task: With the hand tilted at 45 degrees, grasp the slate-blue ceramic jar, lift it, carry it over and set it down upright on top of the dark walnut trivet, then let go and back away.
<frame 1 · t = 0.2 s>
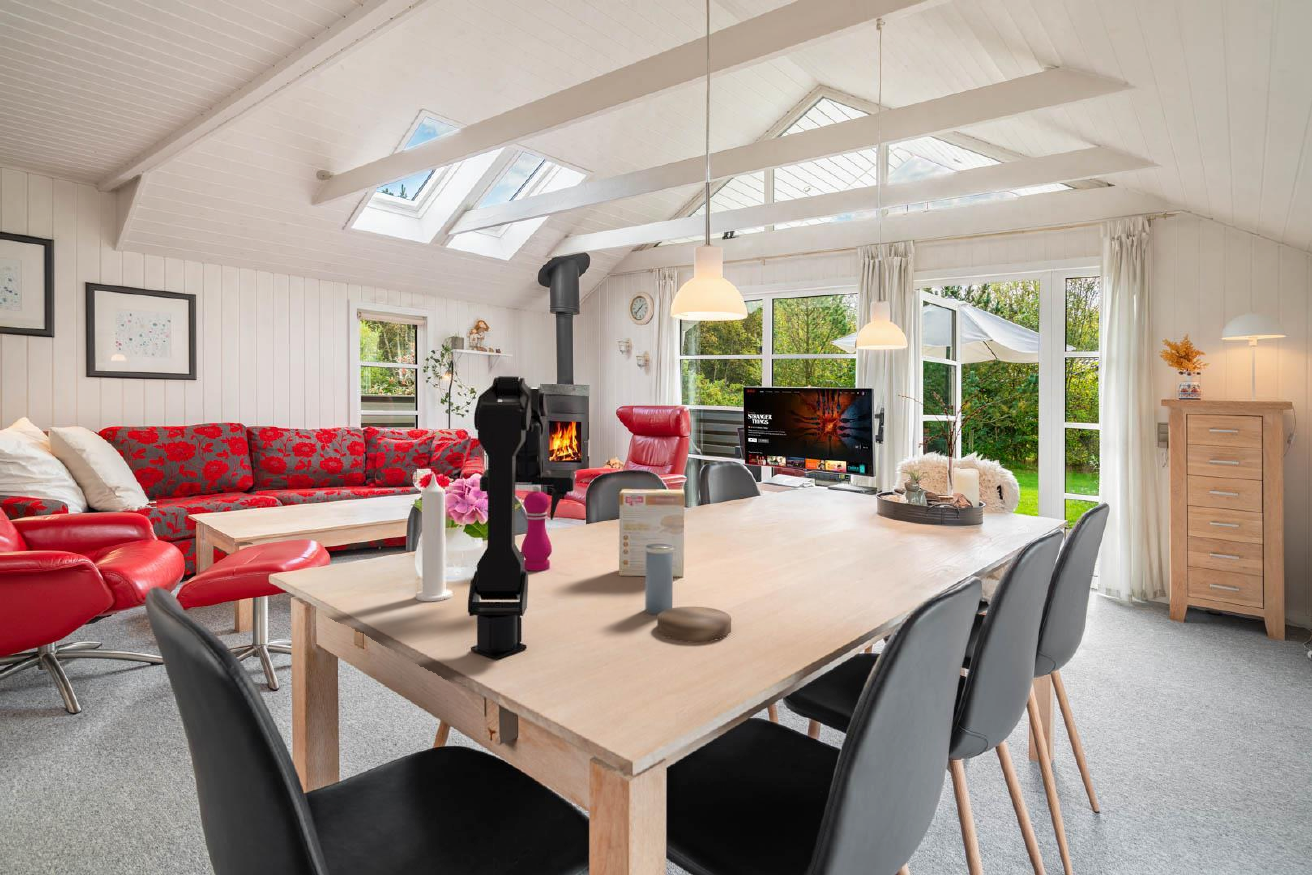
hand: (529, 518, 146), 15 cm above the table, tool pointing down, fingers open, 9 cm apart
coffeecake box: (651, 574, 165), on the table
pepper mill: (536, 569, 168), on the table
candle: (434, 597, 143), on the table
jar: (658, 610, 135), on the table
trivet: (694, 631, 124), on the table
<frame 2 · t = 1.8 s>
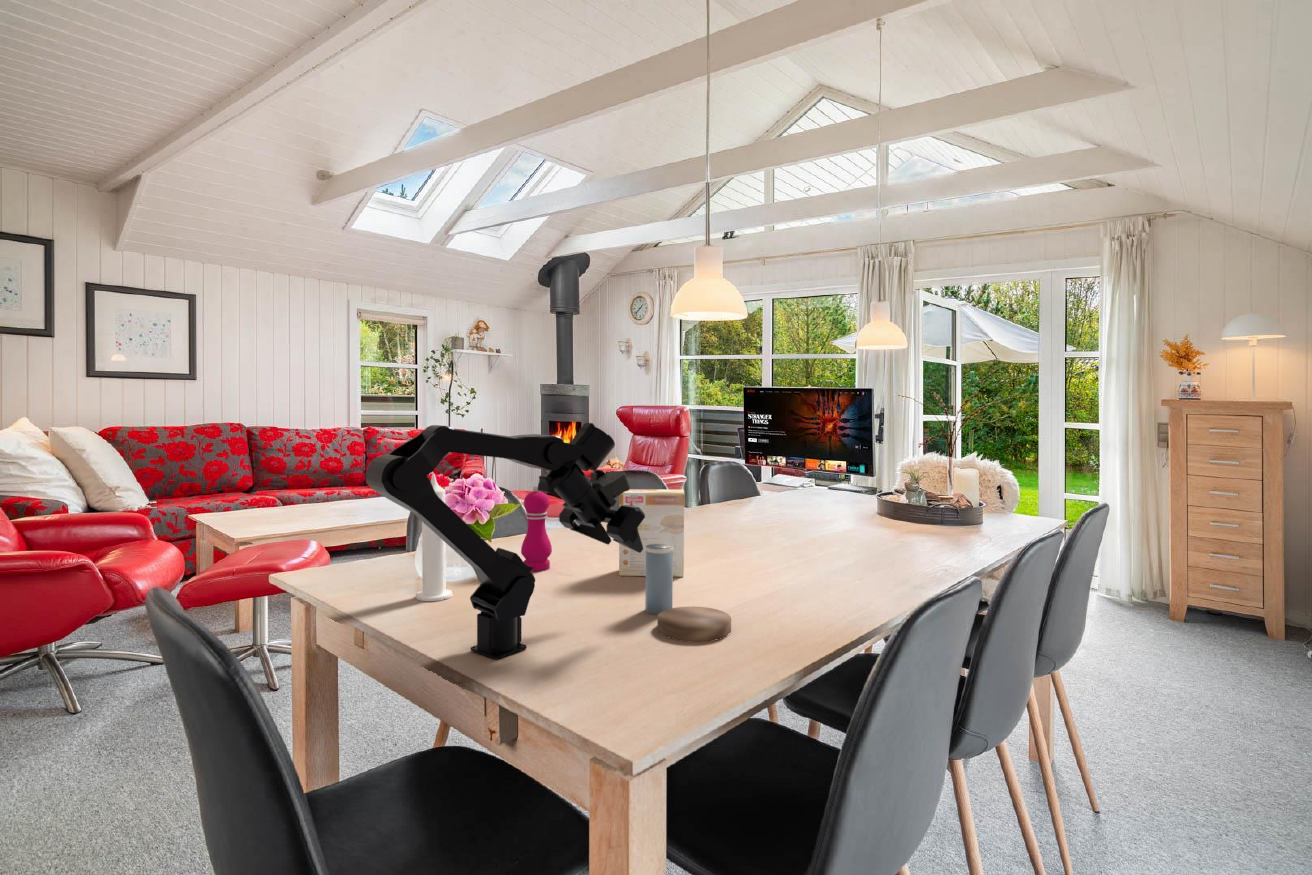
hand: (625, 546, 129), 13 cm above the table, tool tilted 45°, fingers open, 9 cm apart
nothing on the table moved.
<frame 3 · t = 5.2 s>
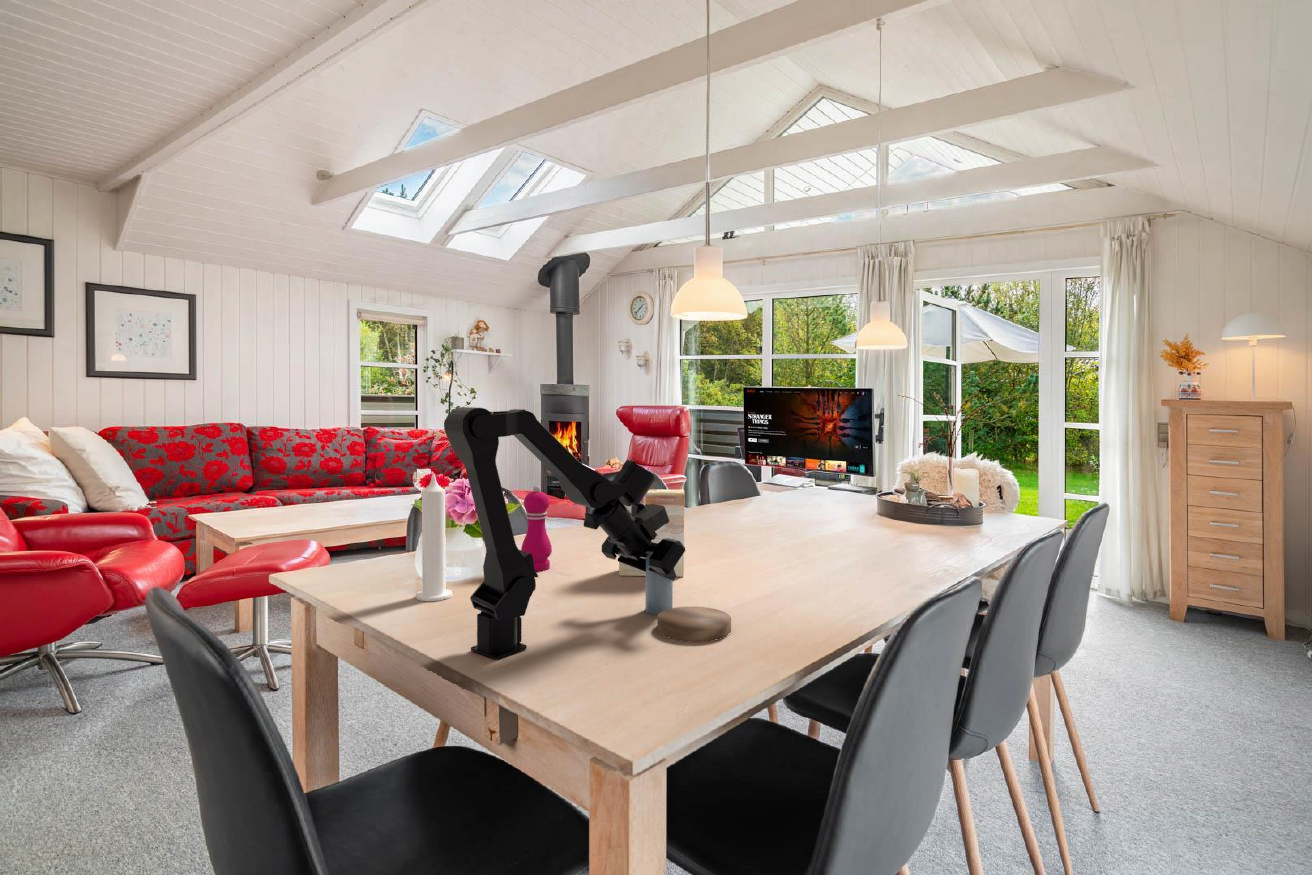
hand: (664, 575, 135), 7 cm above the table, tool tilted 45°, fingers closed on jar, 5 cm apart
jar: (658, 610, 135), on the table, touching gripper
everything else where it was.
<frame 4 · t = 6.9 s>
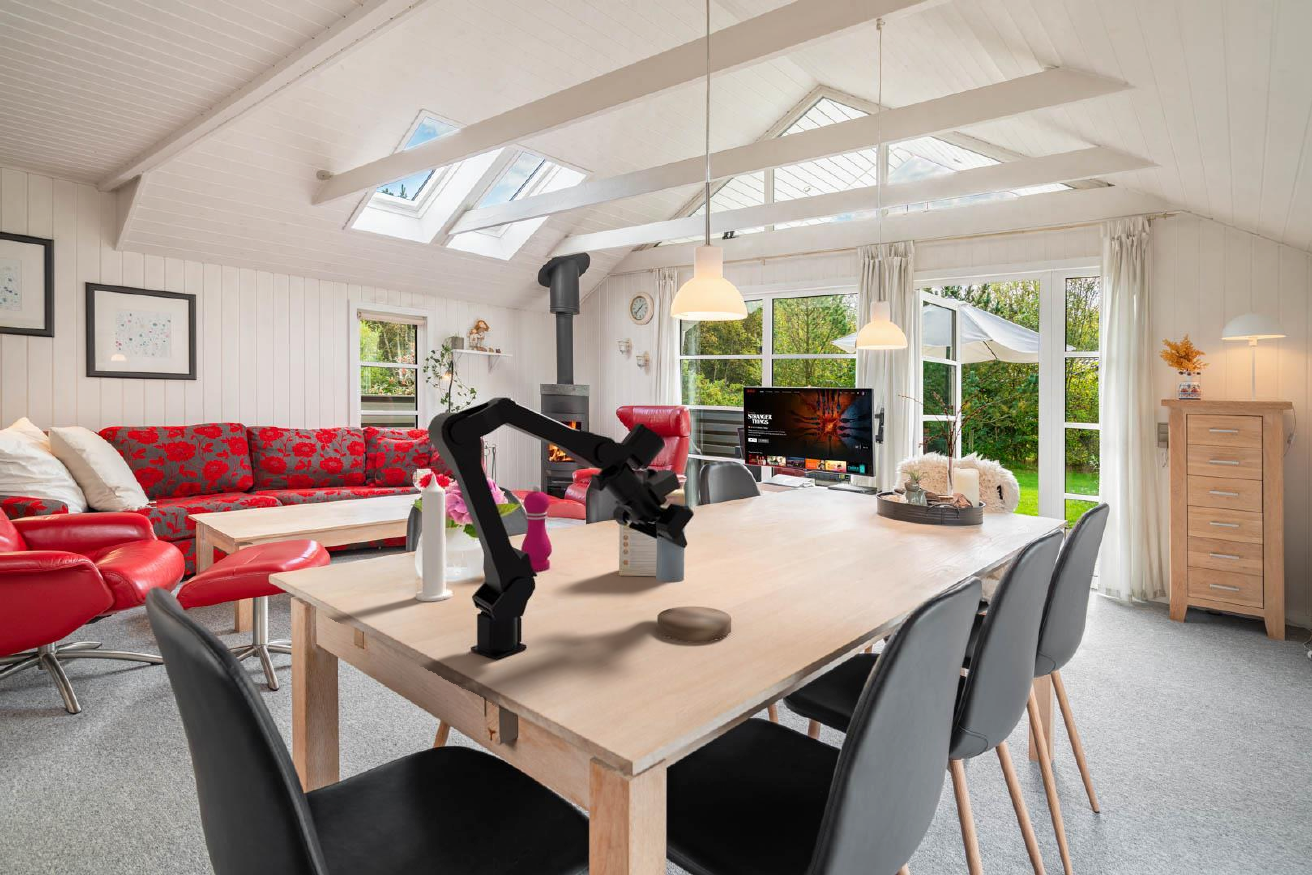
hand: (676, 543, 132), 13 cm above the table, tool tilted 45°, fingers closed on jar, 5 cm apart
jar: (670, 579, 132), point 7 cm above the table, touching gripper
everything else where it was.
when the fingers open (10 cm above the table, at t = 9.0 s): jar drops 2 cm, resting on trivet.
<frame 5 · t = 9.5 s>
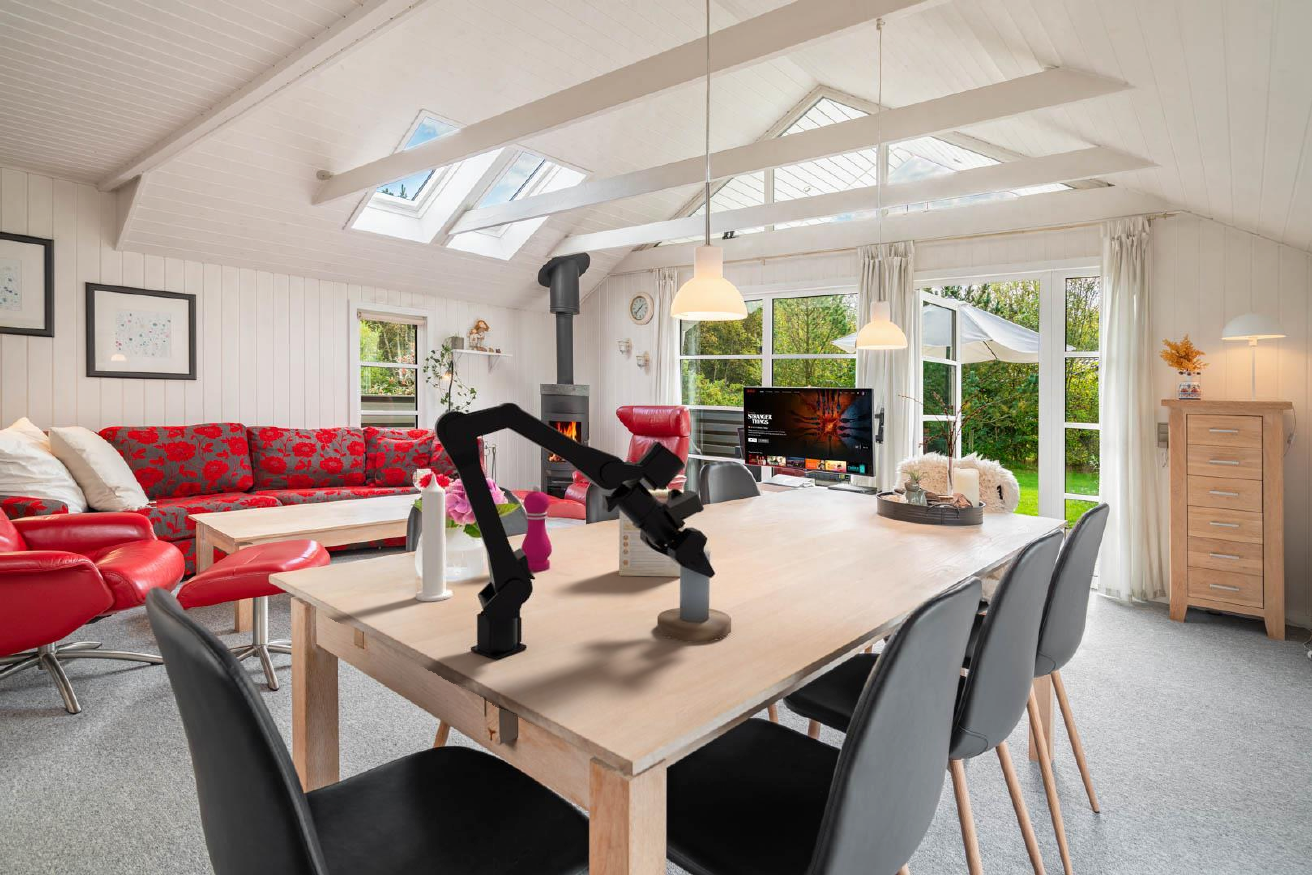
hand: (702, 569, 124), 11 cm above the table, tool tilted 45°, fingers open, 9 cm apart
jar: (694, 617, 124), point 2 cm above the table, touching trivet
trivet: (694, 631, 124), on the table, touching jar
everything else where it was.
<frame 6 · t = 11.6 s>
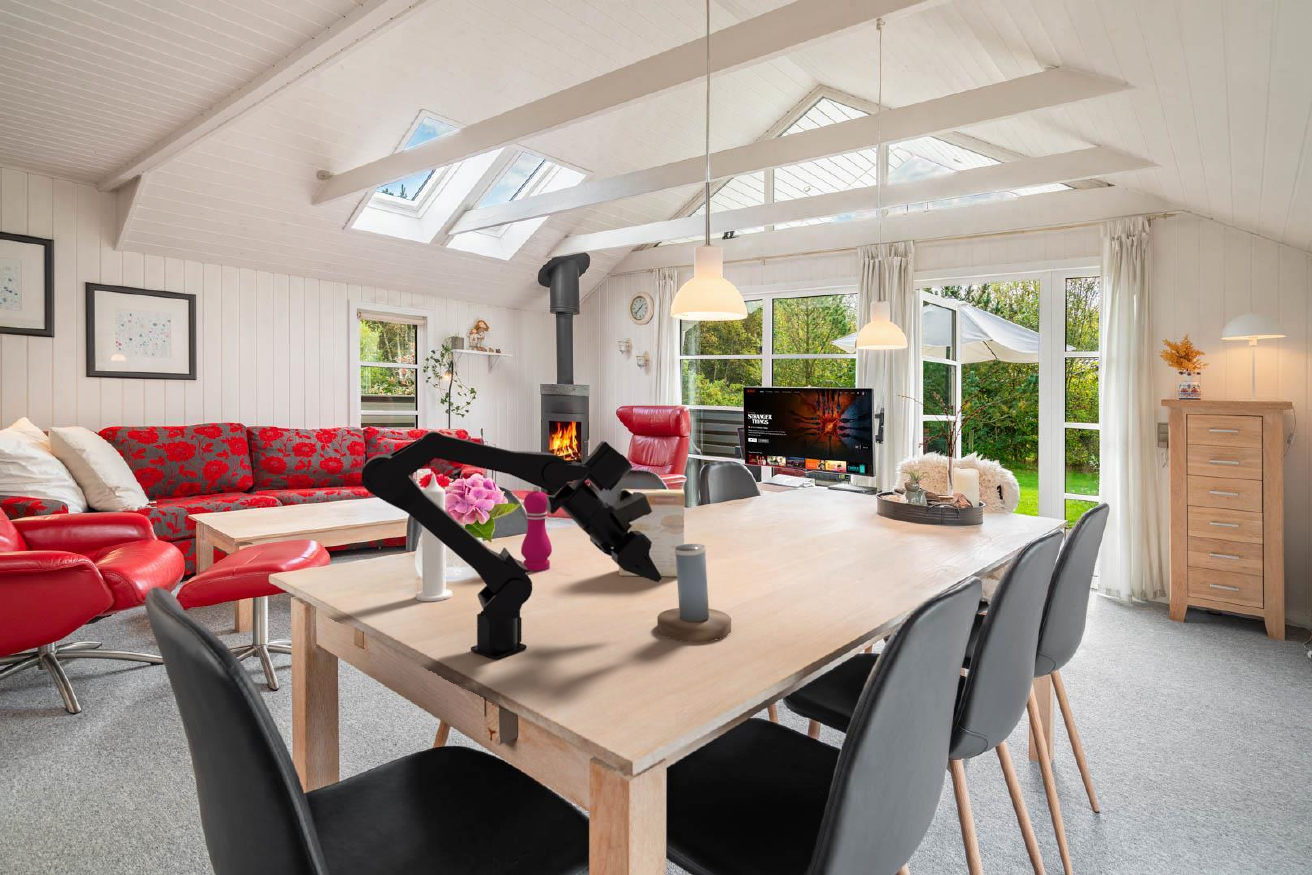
hand: (650, 573, 121), 11 cm above the table, tool tilted 45°, fingers open, 9 cm apart
nothing on the table moved.
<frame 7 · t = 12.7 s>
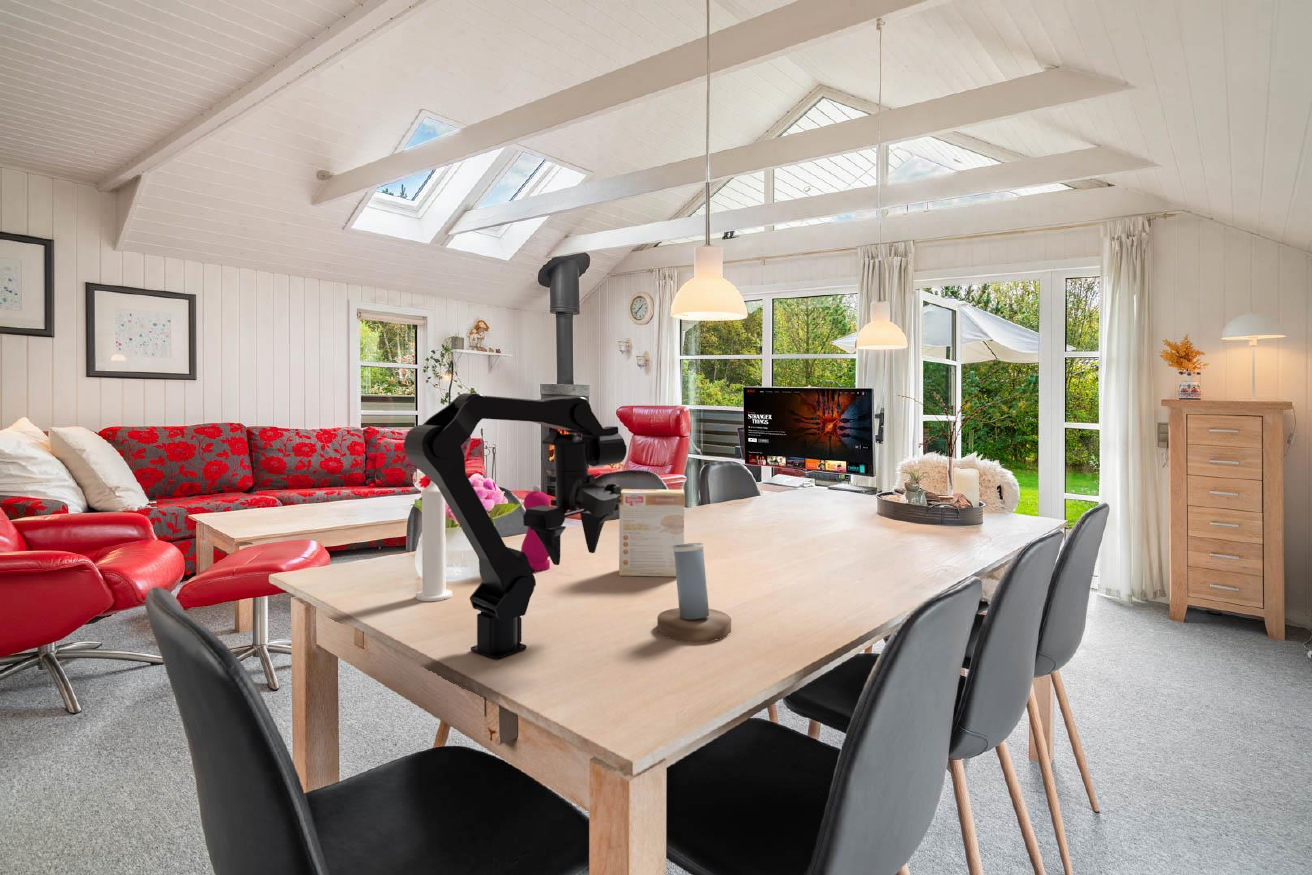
hand: (574, 558, 122), 13 cm above the table, tool pointing down, fingers open, 9 cm apart
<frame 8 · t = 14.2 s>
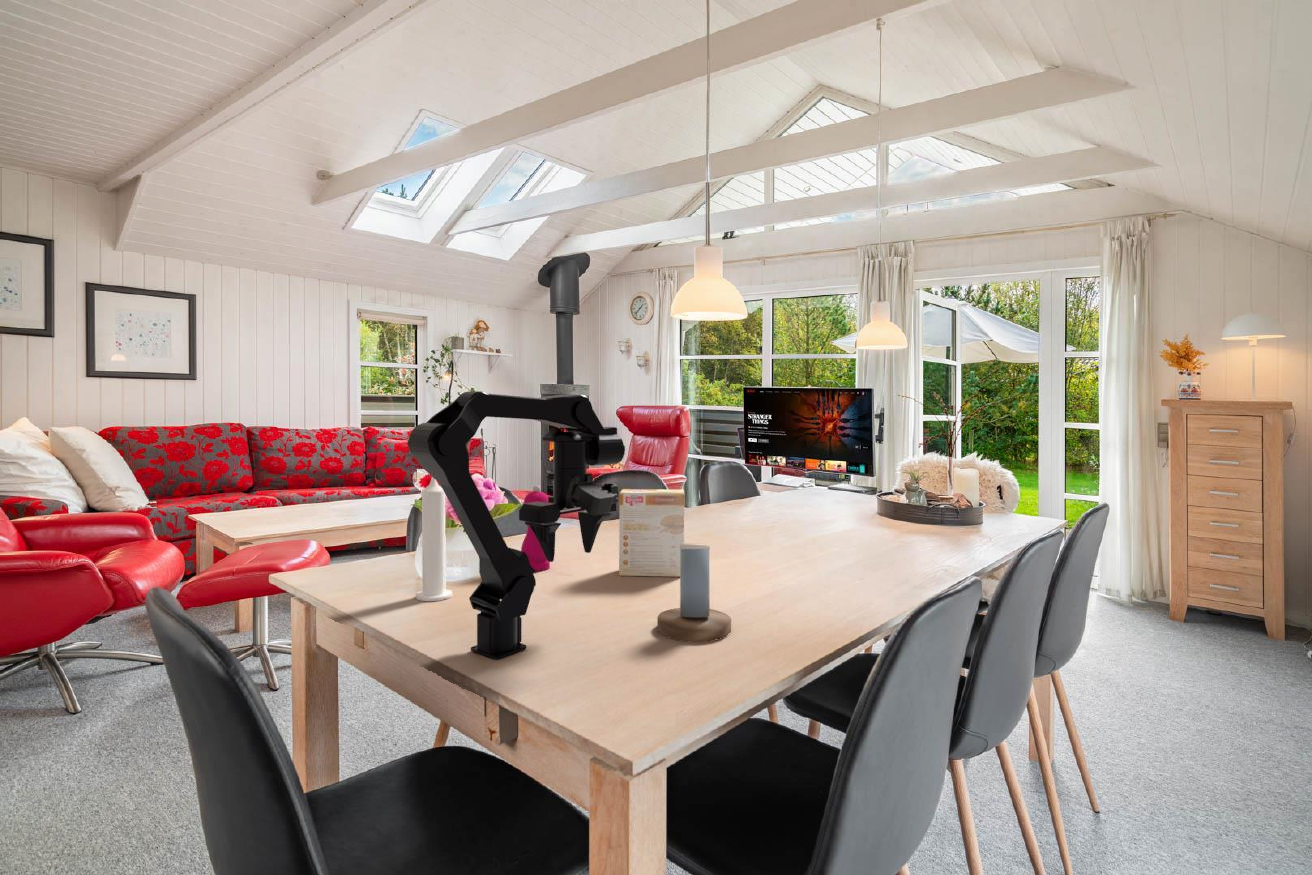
hand: (569, 556, 122), 13 cm above the table, tool pointing down, fingers open, 9 cm apart
at the end: jar inside the target area on the trivet (0.2 cm from its centre), point 3.1 cm above the trivet's base; jar tilted 13°; the gripper is holding nothing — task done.
